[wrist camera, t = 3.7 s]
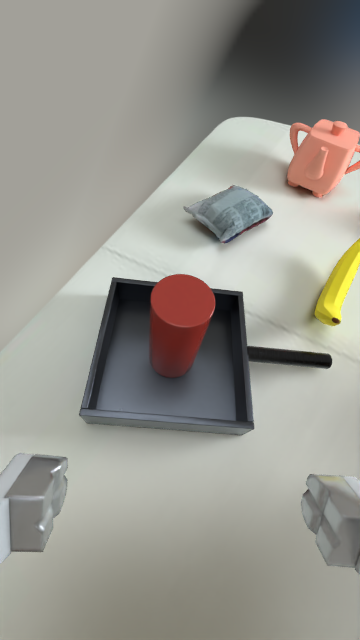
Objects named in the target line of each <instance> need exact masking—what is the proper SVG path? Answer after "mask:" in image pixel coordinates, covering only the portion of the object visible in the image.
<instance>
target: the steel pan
mask: <svg viewBox="0 0 360 640" xmlns="http://www.w3.org/2000/svg"><path fill="white" fill-rule="evenodd" d="M157 283H158V282H150V281H141V280H132V279H123V278H114V277H113V278H112V282H111V285H110V290H109V294H108V298H107V302H106V306H105V310H104V314H103V318H102V323H101V327H100V331H99V335H98V339H97V343H96V347H95V351H94V356H93V360H92V364H91V368H90V372H89V376H88V380H87V384H86V389H85V393H84V397H83V401H82V405H81V409H80V413H79V416H80V417H81V418H82V419H83V420H84V421H85V422H86V423H91V424H104V425H117V426H130V427H143V428H156V429H169V430H182V431H195V432H208V433H221V434H234V435H243V434H245V433H247V432H249V431H251V430H253V429H254V420H253V408H252V397H251V385H250V373H249V362H248V361H251V362H261V363H272V364H282V365H293V366H303V367H314V368H324V369H328V368H330V367H331V365H332V358H331V356H330V355H329V354H325V353H315V352H305V351H295V350H285V349H275V348H264V347H254V346H247V338H246V326H245V315H244V303H243V292H239V291H230V290H221V289H212V288H210V289H211V291H212V292H213V295H214V298H215V309H214V312H213V315H212V317H211V320H210V322H209V325H208V327H207V330H206V332H205V335H204V337H203V340H202V342H201V345H200V347H199V350H198V352H197V355H196V357H195V360H194V362H193V365H192V367H191V369H190V370H189V371H188V372H187V373H186V374H184V375H182V376H180V377H176V378H169V377H164V376H162V375H160V374H158V373H157V372H156V371H155V370H154V369H153V367H152V366H151V364H150V360H149V340H150V302H151V293H152V290H153V288H154V287H155V285H156V284H157Z"/></svg>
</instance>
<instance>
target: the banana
mask: <svg viewBox="0 0 360 640" xmlns="http://www.w3.org/2000/svg"><path fill="white" fill-rule="evenodd" d="M359 264H360V238H359V239H358V240H357V241H356V242H355V243H354V244H353V245H352V246H351V247H350V248H349V249H348V250H347V251H346V252H345V253H344V255H343V256H342V257H341V259H340V260H339V261H338V263H337V265H336V266H335V268H334V270H333V271H332V273H331V275H330V277H329V279H328V281H327V283H326V285H325V287H324V289H323V291H322V293H321V295H320V297H319V299H318V302H317V305H316V309H315V316H316V317H317V318H318V319H319V320H320V321H321V322H322V323H324V324H327V325H331V326H335V325H338V324H340V322H341V314H340V311H341V307H342V303H343V301H344V299H345V296H346V294H347V292H348V290H349V288H350V285H351V283H352V281H353V279H354V277H355V274H356V272H357V269H358V267H359Z"/></svg>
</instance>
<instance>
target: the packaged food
mask: <svg viewBox="0 0 360 640" xmlns="http://www.w3.org/2000/svg"><path fill="white" fill-rule="evenodd" d="M184 210H185V211H186V212H188V213H190V214H192V215H193V216H194V217H195V218H196V219H197V220H198V221H200V222H201V223H202V224H204V225H205V226H206V227H207V228H209V229H210V230H211V231H212V232H214V233H215V234H216V236H217V237H219V239H220V242H221V243H227V242H229V241H231V240H233V239H234V238H236V237H237V236H239V235H241V234H242V233H243V232H245V231H248V230H249V229H251V228H253V227H255V226H257V225H259V224H261V223H263V222H265V221H266V220H267V219H269V218H270V217H271V216H272V214H273V212H272V210H271V209H270V208H269V207H268V206H267V205H266V204H265V203H264V202H263V201H262V200H261V199H260V198H259V197H258V196H257V195H255V194H253V193H251V192H250V191H248V190H247V189H244V188H242V187H239V186H235V185H233V186H231V187H230V188H228V189H227V190H224V191H222V192H220V193H217V194H215V195H214V196H212V197H209V198H207V199H204V200H202V201H199V202H197V203H195V204H193V205H191V206H189V207H187V208H186V207H184Z"/></svg>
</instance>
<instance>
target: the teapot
mask: <svg viewBox="0 0 360 640" xmlns="http://www.w3.org/2000/svg"><path fill="white" fill-rule="evenodd" d="M300 130H301V131H304V132H307V133H308V135H307V136H306V137H305V139H304V140H303V142H302V143H301V145H300V146H299V148H298V142H297V136H298V131H300ZM359 136H360V135H359V132H358V131H355V130H353V129H350V128H348V126H347V125H346V124H345V123H343V122H340V121H335V122H331V121H328V120H324V119H323V120H320V121H319V122H318V123H317V124H315V126H314V127H313V128H311V127H309V126H307V125H305V124H302V123H294V124H293V125H292V126H291V128H290V140H291V144H292V148H293V151H294V157H293V159H292V161H291V163H290V166H289V169H288V174H287V178H288V180H289V181H288V184H289V185H291V186H293V187H297V186H298V185H300V186H302V187H304V188H307V189H309V190H312V191H313V192H312V194H313V195H314V196H316V197H322V196H323V195H325V194H327V193H329V192H330V191H331V190H332V189H333V188H334V187H335V186H336V185H337V184H338V183H339V182H340V180H341V179H342V177H343V175H344V174H347V173H350V172H352V171H355V170H357V169H359V168H360V161H358V162H357V163H355V164H354V165H352V166H350V167H348V166H349V164H350V162H351V159H352V157H353V154H354V152H355V151H356V152H359V153H360V146H359V145H357V143H358V140H359Z"/></svg>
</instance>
